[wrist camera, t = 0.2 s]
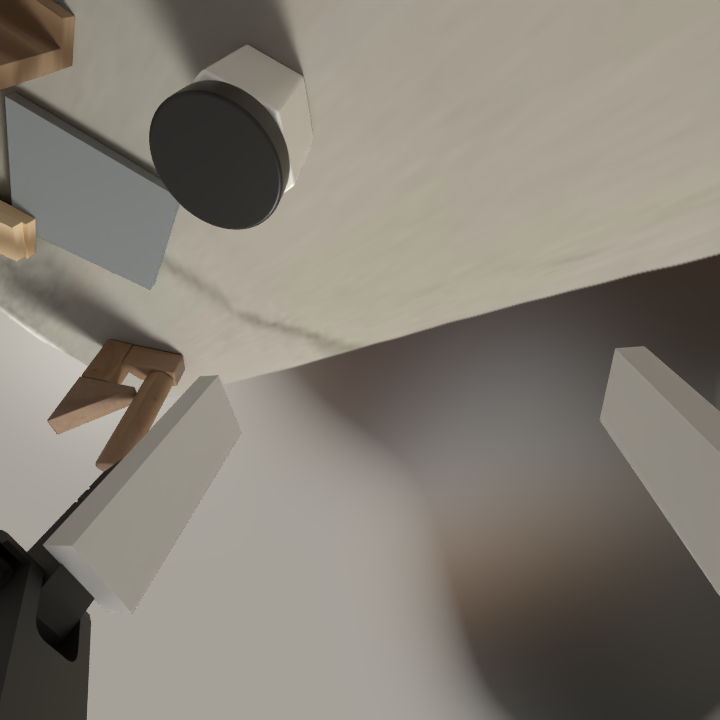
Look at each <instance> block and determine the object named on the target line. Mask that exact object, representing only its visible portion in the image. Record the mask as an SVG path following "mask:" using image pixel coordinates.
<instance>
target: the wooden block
mask: <svg viewBox="0 0 720 720" xmlns="http://www.w3.org/2000/svg"><path fill="white" fill-rule="evenodd" d="M184 370H185V366H184V360H183V356H182V355H178V354H173V353H169V352H164V351H159V350H155V349H150V348H145V347H141V346H136V345H134V346H133V345H132V344H128V343H123V342H119V341H114V340H108V341H107V342H106V343H105V345H104V346H103V347H102V349H101V350H100V351H99V353H98V354H97V355H96V357H95V358H94V359H93V361H92V362H91V363H90V365H89V366H88V367H87V369H86V370H85V371H84V373H83V374H82V377H79V379H78V380H77V381H76V383H75V384H74V385H73V387H72V388H71V389H70V391H69V392H68V393H67V395H66V396H65V397H64V399H63V400H62V401H61V403H60V404H59V406H58V407H57V408H56V409H55V411H54V412H53V413H52V415H51V416H50V418H49V419H48V423H49V424H50V425H51V426H52V428H53V429H54V431H55V432H56V433H57V434H60V433H63V432H65V431H68V430H70V429H73V428H75V427H78V426H80V425H82V424H85V423H87V422H90V421H92V420H95V419H97V418H100V417H102V416H105V415H107V414H110V413H112V412H115V411H117V410H120V409H122V408H125V407H127V406H129V407H128V409H127V411H126V412H125V414H124V416H123V417H122V419H121V421H120V422H119V424H118V426H117V427H116V429H115V431H114V433H113V434H112V436H111V438H110V439H109V441H108V443H107V444H106V446H105V448H104V449H103V451H102V453H101V455H100V456H99V458H98V460H97V461H96V467H97V468H99V469H100V470H102V471H106V470H107V469H108V468H110V467H111V466H113V465H114V464H115V463H117V462H118V461H120V460H121V459H123V458H124V457H125V456H126V455H127V454H128V453H129V452H130V451H131V450H132V449H133V448H134V446H135V445H136V444H137V443H138V442H139V441H140V440H141V439H142V438H143V437H144V436H145V435H146V434H147V433H148V431H149V429H150V427H151V425H152V424H153V422H154V420H155V418H156V416H157V414H158V412H159V410H160V408H161V406H162V404H163V402H164V401H165V399H166V397H167V395H168V393H169V391H170V389H171V387H172V386H176V385H177V384H178V382H179V380H180V378H181V376H182V374H183V372H184ZM128 372H130V373H131V374H133V375H135V376H136V377H138V378H139V379H143V380H144V382H143V384H142V385H141V387H140V389H139V390H138V392H137V393H136V390H135V388H134V387H130V386H125V385H121V383H122V382H123V380H124V379H125V377H126V376H127V374H128Z"/></svg>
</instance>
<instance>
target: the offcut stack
mask: <svg viewBox="0 0 720 720" xmlns="http://www.w3.org/2000/svg"><path fill="white" fill-rule="evenodd" d="M35 253H36V226H35V218H33V217H31V216H29V215H27V214H26V213H24V212H22V211H20V210H18V209H16V208H14V207H13V206H11V205H9V204H7V203H5V202H3V201H1V200H0V254H2V255H4V256H6V257H8V258H11V259H13V260H15V261H18V260H20V259H21V258H23V257H25V258H27V259H28V258H29V257H30V256H32V255H33V254H35Z"/></svg>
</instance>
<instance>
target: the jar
mask: <svg viewBox="0 0 720 720" xmlns="http://www.w3.org/2000/svg"><path fill="white" fill-rule="evenodd" d="M313 142H314V138H313V132H312V125H311V119H310V113H309V107H308V101H307V94H306V88H305V82H304V78H303V76H302V75H300V74H298V73H296V72H295V71H293V70H291V69H289V68H288V67H286V66H284V65H282V64H281V63H279V62H277V61H275V60H274V59H272V58H270V57H268V56H267V55H265V54H263V53H262V52H260V51H258V50H256V49H255V48H253V47H251V46H249V45H244V46H242V47H241V48H239V49H237V50H236V51H234V52H232V53H230V54H229V55H227V56H225V57H224V58H222V59H220V60H219V61H217V62H215V63H213V64H212V65H210V66H208V67H207V68H205V69H203V70H202V71H201V72H200V73H199V74H198V75H197V77H196V78H195V79H194V80H193V81H192V82H191V84H190V85H188V86H186V87H184V88H183V89H181V90H180V91H178V92H176V93H175V94H173V95H171V96H170V97H168V98H167V99H166V100H165V101H164V102H163V103H162V104H161V105H160V106H159V107H158V109H157V110H156V112H155V114H154V116H153V119H152V122H151V126H150V132H149V143H150V151H151V156H152V160H153V163H154V165H155V168H156V170H157V173H158V175H159V177H160V179H161V180H162V182H163V184H164V185H165V187H166V188H167V190H168V191H169V192H170V194H171V195H172V196H173V197H174V198H175V199H176V200H177V202H178V203H179V204H181V205H182V206H183V207H184V208H185V209H186V210H187V211H189V212H190V213H191V214H193V215H194V216H196V217H197V218H199V219H201V220H203V221H205V222H207V223H209V224H211V225H214V226H217V227H221V228H226V229H247V228H251V227H254V226H257V225H259V224H261V223H262V222H264V221H265V220H266V219H268V218H269V217H270V216H271V215H272V213H273V212H274V211H275V209H276V208H277V206H278V204H279V202H280V199H281V197H282V195H283V194H284V193H285V192H286V191H288V190H289V189H290V188H291V187H293V186H294V184H295V182H296V180H297V178H298V175H299V173H300V171H301V169H302V166H303V164H304V162H305V160H306V157H307V155H308V153H309V151H310V148H311V146H312V144H313Z"/></svg>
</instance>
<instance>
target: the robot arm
mask: <svg viewBox="0 0 720 720" xmlns="http://www.w3.org/2000/svg"><path fill="white" fill-rule="evenodd" d="M600 421H601V423H602V424H603V426H604V427H605V429H606V430H607V431H608V433H609V434H610V436H611V437H612V439H613V440H614V442H615V443H616V445H617V446H618V448H619V449H620V451H621V452H622V454H623V455H624V456H625V458H626V459H627V461H628V462H629V464H630V465H631V466H632V468H633V470H634V471H635V473H636V474H637V475H638V477H639V478H640V480H641V481H642V483H643V484H644V486H645V487H646V489H647V490H648V492H649V493H650V495H651V496H652V497H653V499H654V500H655V502H656V503H657V505H658V506H659V508H660V509H661V511H662V512H663V513H664V515H665V517H666V518H667V520H668V521H669V522H670V524H671V525H672V527H673V528H674V529H675V531H676V533H677V534H678V536H679V537H680V539H681V540H682V542H683V543H684V545H685V546H686V547H687V549H688V550H689V552H690V553H691V555H692V556H693V558H694V559H695V561H696V562H697V564H698V565H699V567H700V568H701V570H702V571H703V572H704V574H705V575H706V577H707V578H708V580H709V581H710V583H711V584H712V585H713V587H714V589H715V590H716V592H717V593H718V594H719V596H720V412H719V411H718V410H717V409H716V408H715V407H714V406H712V405H711V404H710V403H709V402H708V401H707V400H706V399H704V398H703V397H702V396H701V395H700V394H699V393H697V392H696V391H695V390H694V389H693V388H692V387H691V386H689V385H688V384H687V383H686V382H685V381H684V380H682V379H681V378H680V377H679V376H677V374H675V373H674V372H673V371H672V370H671V369H670V368H669V367H667V366H666V365H665V364H664V363H663V362H662V361H660V360H659V359H658V358H657V357H656V356H655V355H654V354H652V353H651V352H650V351H649V350H648V349H647V348H645V347H630V348H616V349H615V353H614V357H613V362H612V366H611V371H610V376H609V381H608V385H607V390H606V394H605V399H604V403H603V408H602V412H601V417H600ZM241 433H242V432H241V429H240V427H239V424H238V422H237V419H236V417H235V415H234V412H233V410H232V407H231V405H230V402H229V400H228V397H227V395H226V393H225V390H224V388H223V385H222V383H221V380H220V378H219V376H218V375H215V376H200V377H199V378H198V379H197V380H196V381H195V382H194V383H193V384H192V385H191V386H190V387H189V389H188V390H187V391H186V392H185V393H184V394H183V395H182V396H181V397H180V398H179V399H178V400H177V401H176V403H175V404H174V405H173V406H172V407H171V408H170V409H169V410H168V411H167V412H166V413H165V414H164V415H163V417H162V418H161V419H160V420H159V421H158V422H157V423H156V424H155V425H154V426H153V427H152V428H151V429H150V430H149V431H148V433H147V434H146V435H145V436H144V437H143V438H142V439H141V440H140V441H139V442H138V443H137V444H136V445H135V446H134V448H133V449H132V450H131V451H130V452H129V453H128V454H127V455H126V456H125V457H124V458H123V459H121V460H120V461H118V462H117V463H115V464H114V465H113V466H111V467H110V468H108V469H107V470H106V471H104V472H103V473H102V474H101V475H100V476H99V478H98V479H97V480H96V481H95V482H94V483H93V484H92V485H91V486H90V489H89V490H86V491H85V492H84V493H83V494H82V495H81V496H80V497H79V498H78V502H75V503H74V504H73V505H72V506H71V507H70V508H69V509H68V510H67V511H66V512H65V513H64V514H63V515H62V516H61V517H60V519H58V520H57V521H56V522H55V524H54V525H53V526H52V527H51V528H50V529H49V530H48V531H47V532H46V533H45V534H44V535H43V536H42V537H41V538H40V539H39V540H38V541H37V542H36V544H34V546H33V547H32V548H31V549H30V550H29V551H28V552H26V551H25V550H24V549H23V548H22V547H21V546H20V545H19V544H18V543H17V542H16V541H15V540H14V539H13V538H12V537H11V536H10V535H9V534H8V533H6V532H4V531H3V530H0V720H86V719H87V699H88V677H89V676H88V675H89V655H90V632H91V620H90V615H89V614H88V613H87V612H86V610H87V608H88V607H89V606H90V604H91V603H92V601H93V600H94V599H95V601H97V603H98V604H99V605H100V606H101V607H102V608H103V609H104V610H105V611H106V612H115V613H128V614H133V612H134V611H135V609H136V607H137V606H138V604H139V602H140V601H141V599H142V597H143V596H144V594H145V592H146V591H147V589H148V587H149V586H150V584H151V582H152V581H153V579H154V577H155V576H156V574H157V572H158V571H159V569H160V567H161V566H162V564H163V562H164V561H165V559H166V557H167V556H168V554H169V552H170V551H171V549H172V548H173V546H174V544H175V543H176V541H177V539H178V538H179V536H180V534H181V533H182V531H183V529H184V528H185V526H186V524H187V523H188V521H189V519H190V518H191V516H192V514H193V513H194V511H195V509H196V508H197V506H198V504H199V503H200V501H201V499H202V497H203V496H204V494H205V493H206V491H207V489H208V488H209V486H210V484H211V483H212V481H213V479H214V478H215V476H216V474H217V473H218V471H219V469H220V468H221V466H222V465H223V463H224V461H225V460H226V458H227V456H228V455H229V453H230V451H231V450H232V448H233V446H234V445H235V443H236V441H237V440H238V438H239V436H240V435H241Z"/></svg>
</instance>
